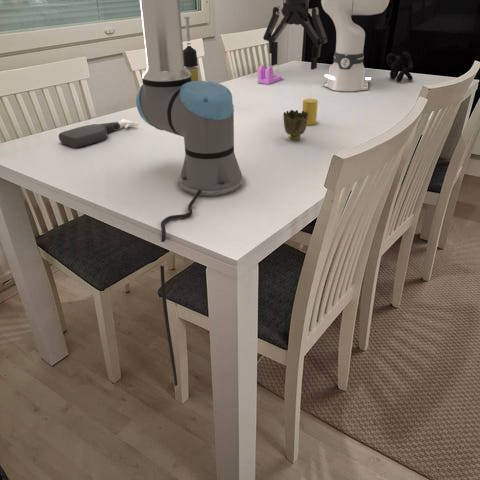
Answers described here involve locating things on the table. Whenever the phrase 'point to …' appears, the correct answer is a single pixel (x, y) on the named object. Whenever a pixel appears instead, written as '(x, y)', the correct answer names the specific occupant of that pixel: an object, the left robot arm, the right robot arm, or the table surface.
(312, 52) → the left robot arm
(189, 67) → the long nozzle bottle
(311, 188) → the table surface
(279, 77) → the bracket
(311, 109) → the tin
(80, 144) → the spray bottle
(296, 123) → the cup
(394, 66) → the squiggle
